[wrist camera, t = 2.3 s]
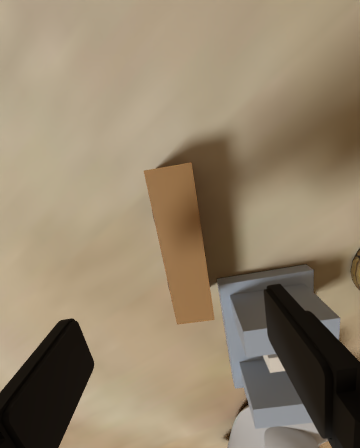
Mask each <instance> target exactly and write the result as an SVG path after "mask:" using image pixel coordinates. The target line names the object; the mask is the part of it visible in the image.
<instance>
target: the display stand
mask: <svg viewBox="0 0 360 448" xmlns="http://www.w3.org/2000/svg"><path fill="white" fill-rule="evenodd" d="M217 283H218V289H219V296H220V302H221V308H222V314H223V321H224V327H225V333H226V339H227V346H228V352H229V358H230V364H231V371H232V377H233V382H234V386H235V388H243V387H244V390H245V393H246V397H247V400H248V404H249V408H250V411H251V415H252V418H253V422H254V425H255V429H259V428H268V427H277V426H287V425H296V424H305V423H313V422H312V420H311V418H310V416H309V414H308V412H307V410H306V409H305V407H304V405H303V403H302V401H301V399H300V397H299V396H298V394H297V392H296V390H295V388H294V386H293V384H292V382H291V381H290V379H289V377H288V375H287V373H286V371H285V369H284V368H283V366H282V364H281V362H280V360H279V358H278V356H277V354H276V353H275V351H274V349H273V347H272V345H271V343H270V341H269V338H268V334H267V324H266V313H265V302H264V289H267V286H268V285H274V284H281V285H282V286H283V287H284V288H285V289H286V290H287V292H288V293H289V294H290V295H291V296H292V297H293V298H294V299H295V300H296V301H297V302H298V304H299V305H300V306H301V307H302V308H303V309H304V310H305V311H307V310H308V311H311V312H312V313H313V314H314V315H315V316H316V317H317V318H318V319H319V320H320V321H321V322H322V323H323V324H324V325H325V326H326V327H327V328H328V329H329V330H330V332H331V333H332V334H333V335H334V336H335V337H336V338H337V339H338V340H339V331H340V317H339V316H338V315H337V314H336V313H335V312H333V311H332V310H331V309H330V308H329V307H328V306H327V305H326V304H325V303H324V302H323V301H322V300H321V299H320V298H319V297H318V296H317V295H315V294H314V270H313V269H312V268H310V267H309V266H308V265H307V264H305V265H299V266H293V267H287V268H281V269H275V270H269V271H262V272H256V273H250V274H244V275H238V276H232V277H225V278H219V279H217Z"/></svg>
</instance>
